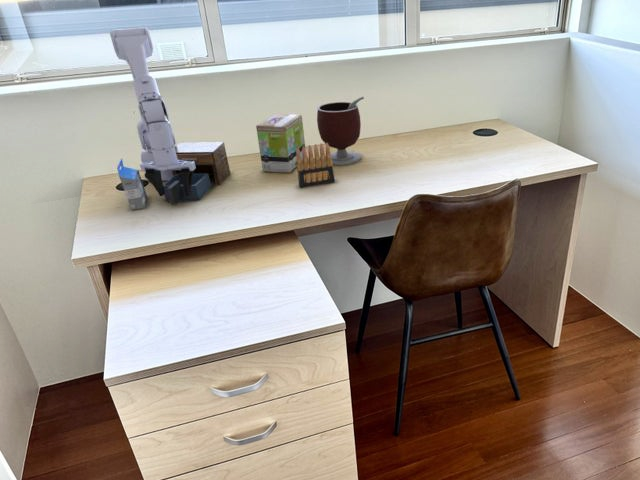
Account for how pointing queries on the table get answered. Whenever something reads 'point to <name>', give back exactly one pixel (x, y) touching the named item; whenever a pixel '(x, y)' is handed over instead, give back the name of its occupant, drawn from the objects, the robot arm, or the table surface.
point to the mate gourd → (340, 129)
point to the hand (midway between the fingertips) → (175, 194)
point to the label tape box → (132, 186)
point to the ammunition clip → (315, 167)
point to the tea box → (280, 142)
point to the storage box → (176, 189)
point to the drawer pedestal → (205, 158)
